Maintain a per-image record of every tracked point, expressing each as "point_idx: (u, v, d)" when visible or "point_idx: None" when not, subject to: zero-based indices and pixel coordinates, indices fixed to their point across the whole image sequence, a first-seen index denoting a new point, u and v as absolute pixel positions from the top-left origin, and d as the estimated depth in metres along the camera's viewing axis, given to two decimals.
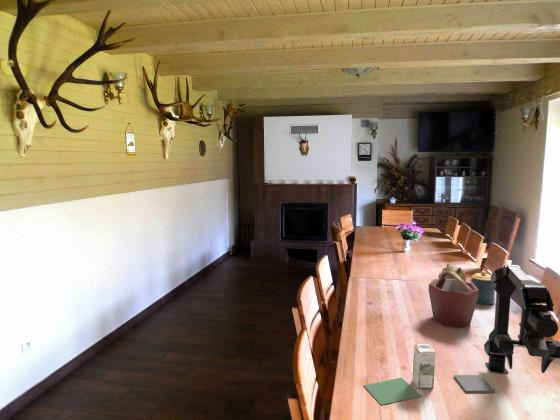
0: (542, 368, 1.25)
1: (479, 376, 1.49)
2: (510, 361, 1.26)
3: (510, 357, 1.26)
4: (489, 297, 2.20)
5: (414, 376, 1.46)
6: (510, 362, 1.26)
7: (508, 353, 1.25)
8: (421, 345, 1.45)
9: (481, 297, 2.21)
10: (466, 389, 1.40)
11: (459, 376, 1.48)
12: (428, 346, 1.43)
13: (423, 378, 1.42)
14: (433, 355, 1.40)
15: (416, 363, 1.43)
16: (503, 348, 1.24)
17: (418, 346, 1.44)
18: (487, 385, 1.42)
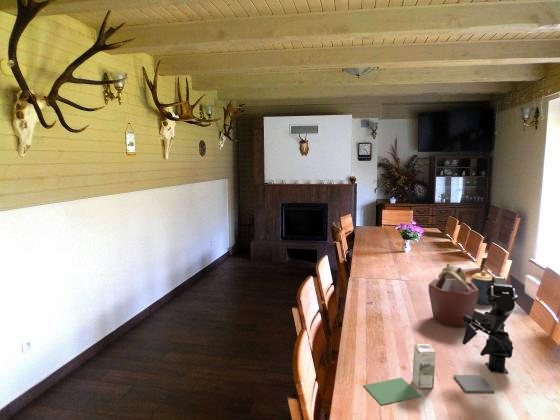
0: None
1: (479, 376, 1.49)
2: (465, 335, 1.48)
3: (466, 332, 1.48)
4: None
5: (414, 376, 1.46)
6: (464, 336, 1.48)
7: (466, 326, 1.49)
8: (421, 345, 1.45)
9: (481, 297, 2.21)
10: (466, 389, 1.40)
11: (459, 376, 1.48)
12: (428, 346, 1.43)
13: (423, 378, 1.42)
14: (433, 355, 1.40)
15: (416, 363, 1.43)
16: (463, 319, 1.51)
17: (418, 346, 1.44)
18: (487, 385, 1.42)
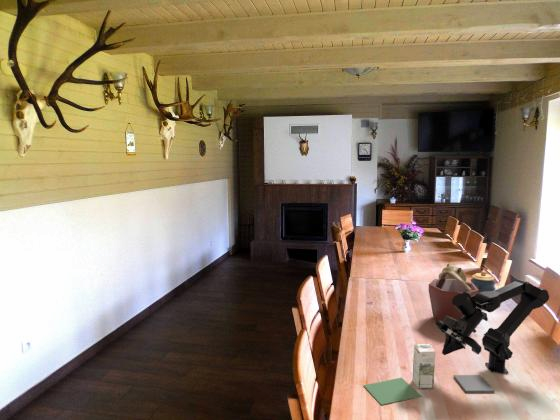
0: None
1: (479, 376, 1.49)
2: (444, 345, 1.47)
3: (446, 341, 1.47)
4: None
5: (414, 376, 1.46)
6: (444, 346, 1.47)
7: (446, 336, 1.48)
8: (421, 345, 1.45)
9: None
10: (466, 389, 1.40)
11: (459, 376, 1.48)
12: (428, 346, 1.43)
13: (423, 378, 1.42)
14: (433, 355, 1.40)
15: (416, 363, 1.43)
16: (436, 324, 1.54)
17: (418, 346, 1.44)
18: (487, 385, 1.42)
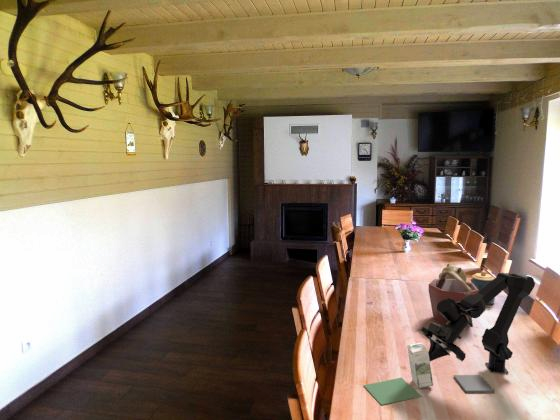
0: None
1: (479, 376, 1.49)
2: (429, 352, 1.45)
3: (431, 348, 1.45)
4: None
5: (413, 376, 1.46)
6: None
7: (430, 342, 1.46)
8: (413, 344, 1.45)
9: None
10: (466, 389, 1.40)
11: (459, 376, 1.48)
12: (420, 345, 1.43)
13: (421, 377, 1.42)
14: (426, 353, 1.40)
15: (412, 363, 1.43)
16: (421, 330, 1.52)
17: (411, 346, 1.44)
18: (487, 385, 1.42)
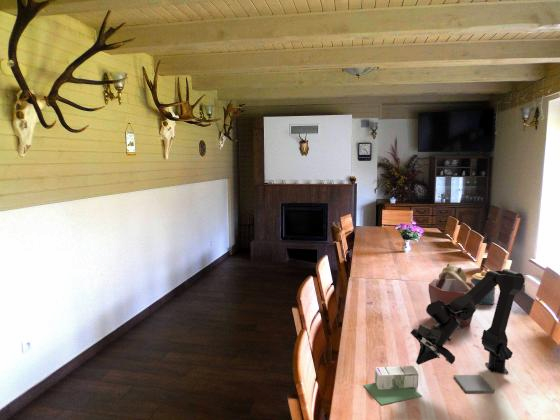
0: None
1: (479, 376, 1.49)
2: (419, 354, 1.44)
3: (420, 351, 1.44)
4: (489, 297, 2.20)
5: None
6: (418, 355, 1.44)
7: (420, 345, 1.45)
8: (375, 376, 1.46)
9: None
10: (466, 389, 1.40)
11: (459, 376, 1.48)
12: (376, 373, 1.44)
13: (407, 384, 1.42)
14: (383, 377, 1.41)
15: None
16: (411, 332, 1.51)
17: (375, 381, 1.45)
18: (487, 385, 1.42)
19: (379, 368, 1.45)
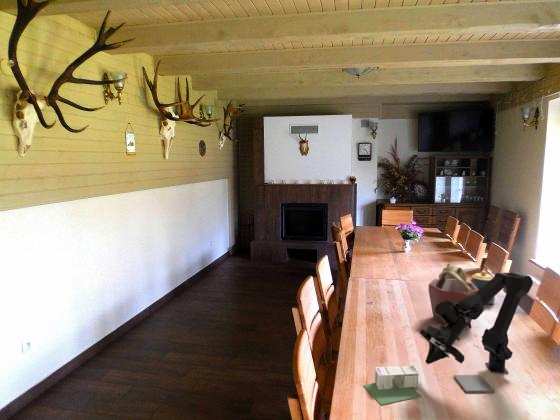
0: None
1: (479, 376, 1.49)
2: (428, 354, 1.45)
3: (430, 350, 1.45)
4: None
5: None
6: (428, 355, 1.45)
7: (429, 345, 1.46)
8: (375, 376, 1.46)
9: None
10: (466, 389, 1.40)
11: (459, 376, 1.48)
12: (376, 373, 1.44)
13: (407, 384, 1.42)
14: (383, 377, 1.41)
15: None
16: (420, 332, 1.52)
17: (375, 381, 1.45)
18: (487, 385, 1.42)
19: (379, 368, 1.45)
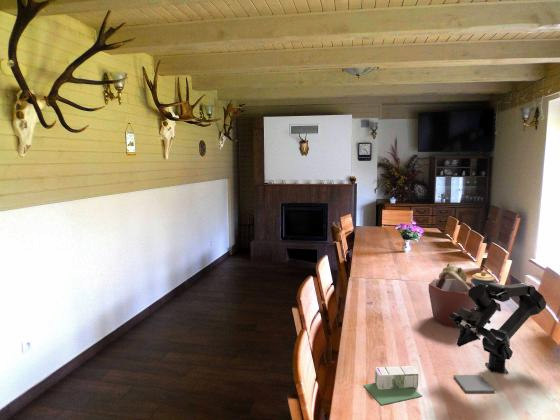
0: None
1: (479, 376, 1.49)
2: (459, 337, 1.47)
3: (461, 333, 1.47)
4: None
5: None
6: (459, 337, 1.47)
7: (460, 327, 1.48)
8: (375, 376, 1.46)
9: None
10: (466, 389, 1.40)
11: (459, 376, 1.48)
12: (376, 373, 1.44)
13: (407, 384, 1.42)
14: (383, 377, 1.41)
15: None
16: (450, 316, 1.54)
17: (375, 381, 1.45)
18: (487, 385, 1.42)
19: (379, 368, 1.45)
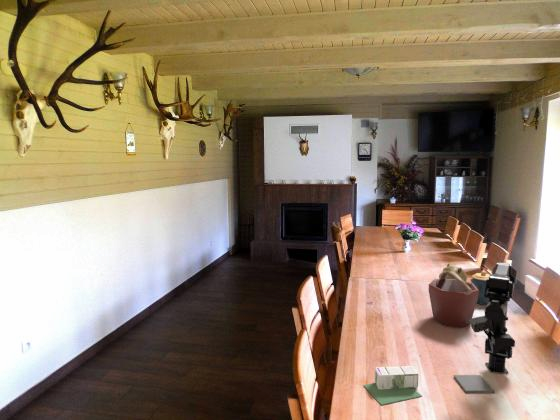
0: None
1: (479, 376, 1.49)
2: (490, 344, 1.41)
3: (489, 340, 1.41)
4: None
5: None
6: (490, 345, 1.41)
7: None
8: (375, 376, 1.46)
9: (481, 297, 2.21)
10: (466, 389, 1.40)
11: (459, 376, 1.48)
12: (376, 373, 1.44)
13: (407, 384, 1.42)
14: (383, 377, 1.41)
15: None
16: None
17: (375, 381, 1.45)
18: (487, 385, 1.42)
19: (379, 368, 1.45)
